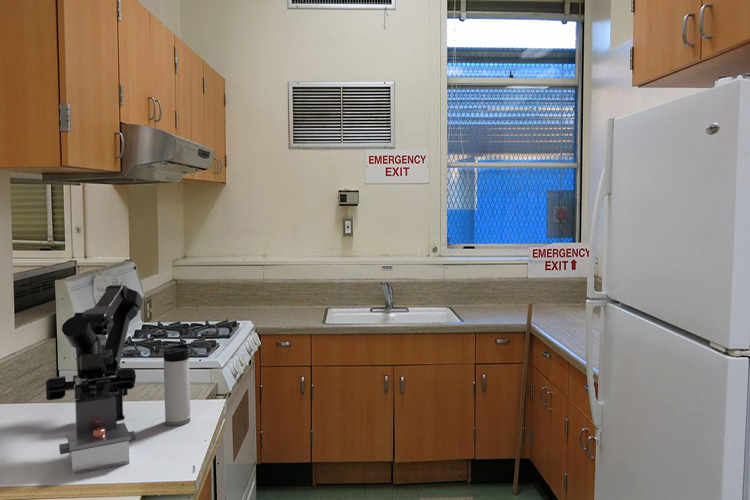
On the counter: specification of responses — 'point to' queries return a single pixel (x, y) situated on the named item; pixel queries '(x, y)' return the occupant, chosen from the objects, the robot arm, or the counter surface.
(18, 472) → the counter surface
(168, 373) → the travel mug
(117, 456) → the grey box with handles
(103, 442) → the lid
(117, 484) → the counter surface
